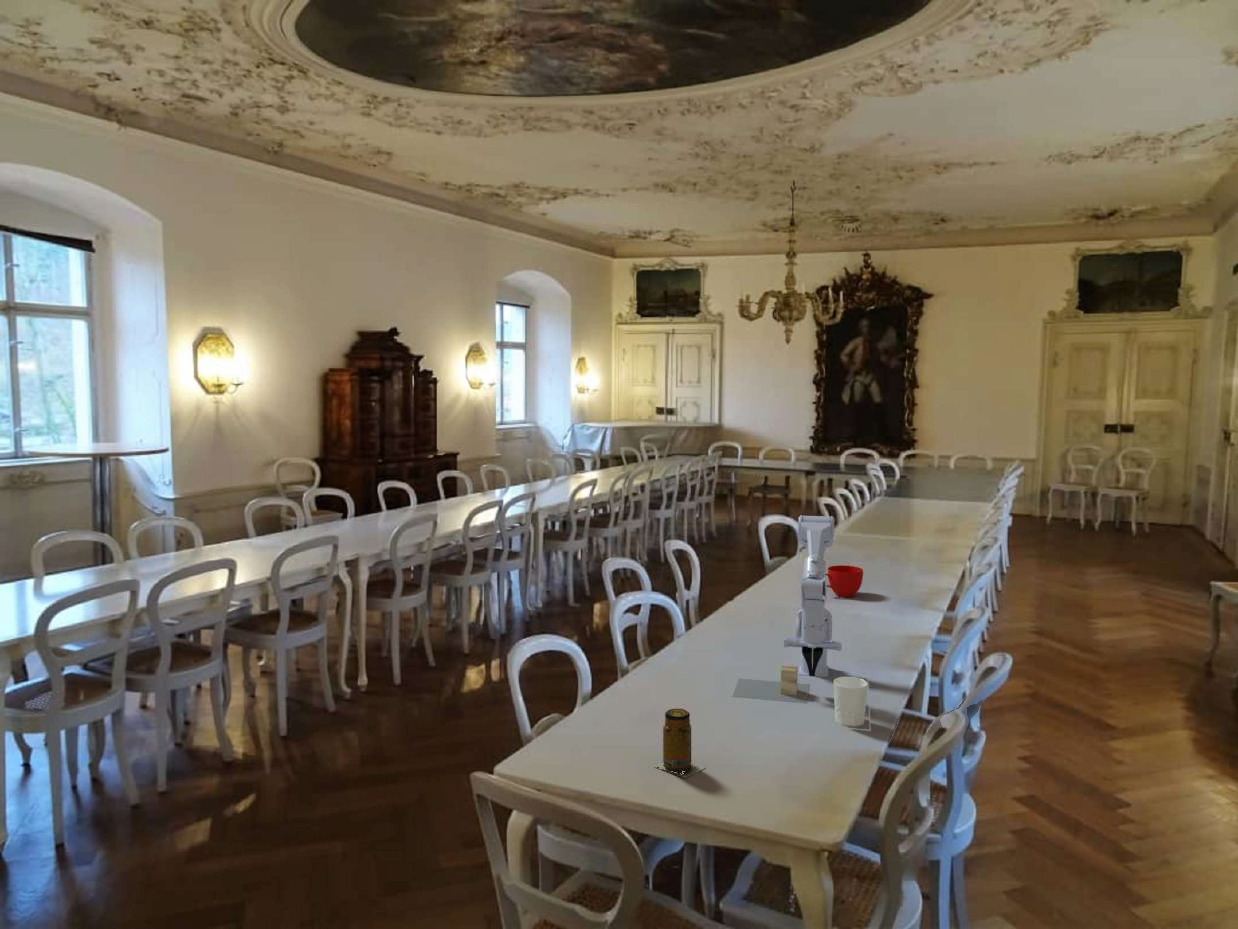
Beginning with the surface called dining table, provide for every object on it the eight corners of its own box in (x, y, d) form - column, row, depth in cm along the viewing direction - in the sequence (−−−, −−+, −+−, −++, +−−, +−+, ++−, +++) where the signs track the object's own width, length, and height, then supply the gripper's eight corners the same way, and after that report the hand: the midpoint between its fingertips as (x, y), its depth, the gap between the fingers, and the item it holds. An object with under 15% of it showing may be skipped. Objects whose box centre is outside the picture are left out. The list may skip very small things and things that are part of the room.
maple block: (781, 688, 234) (782, 664, 234) (797, 689, 233) (797, 666, 233) (780, 693, 230) (781, 669, 230) (796, 695, 229) (796, 670, 229)
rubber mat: (739, 679, 242) (739, 678, 242) (809, 685, 237) (809, 684, 237) (732, 698, 229) (732, 696, 229) (807, 704, 224) (807, 703, 224)
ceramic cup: (811, 593, 336) (812, 567, 335) (850, 589, 341) (851, 564, 340) (829, 601, 324) (829, 574, 323) (869, 597, 329) (870, 571, 328)
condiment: (675, 756, 194) (675, 704, 193) (706, 768, 189) (706, 714, 187) (653, 767, 189) (653, 713, 188) (684, 779, 183) (684, 724, 182)
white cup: (843, 730, 208) (844, 689, 207) (826, 718, 215) (827, 678, 214) (873, 726, 210) (874, 686, 209) (855, 714, 217) (856, 675, 216)
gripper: (783, 626, 226) (782, 678, 228) (841, 630, 223) (840, 682, 224) (785, 619, 233) (784, 669, 235) (842, 622, 230) (840, 673, 231)
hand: (812, 675), depth 230 cm, fingers closed
